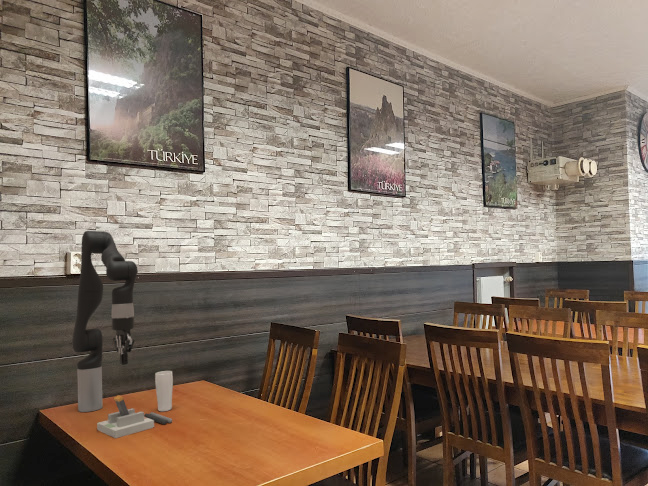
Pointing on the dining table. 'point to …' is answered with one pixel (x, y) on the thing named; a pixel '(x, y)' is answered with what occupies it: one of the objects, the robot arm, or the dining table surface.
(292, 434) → the dining table surface
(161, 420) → the cable bundle
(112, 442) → the dining table surface
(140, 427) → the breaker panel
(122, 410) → the lever
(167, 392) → the drinking glass
